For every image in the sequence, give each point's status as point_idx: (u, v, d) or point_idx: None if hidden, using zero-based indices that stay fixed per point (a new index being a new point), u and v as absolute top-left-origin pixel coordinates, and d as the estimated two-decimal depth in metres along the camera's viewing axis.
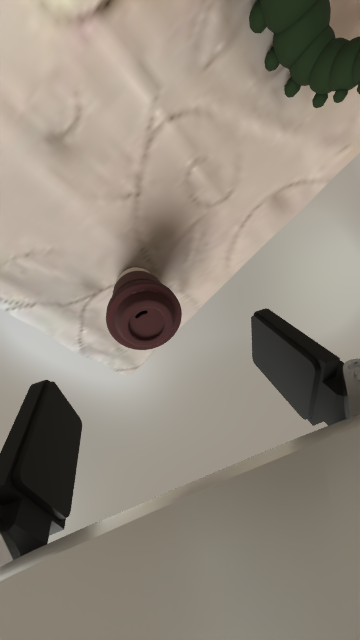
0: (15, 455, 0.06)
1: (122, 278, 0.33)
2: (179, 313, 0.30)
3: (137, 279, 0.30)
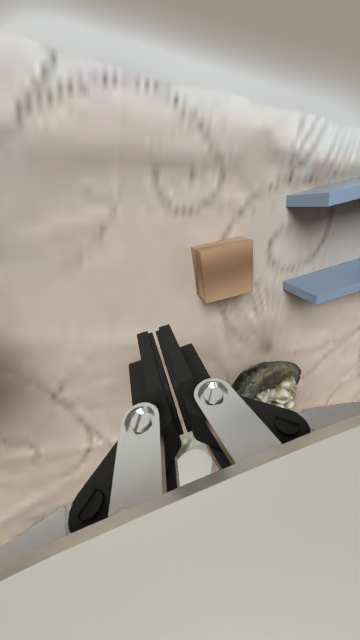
0: (158, 374, 0.08)
1: None
2: None
3: None
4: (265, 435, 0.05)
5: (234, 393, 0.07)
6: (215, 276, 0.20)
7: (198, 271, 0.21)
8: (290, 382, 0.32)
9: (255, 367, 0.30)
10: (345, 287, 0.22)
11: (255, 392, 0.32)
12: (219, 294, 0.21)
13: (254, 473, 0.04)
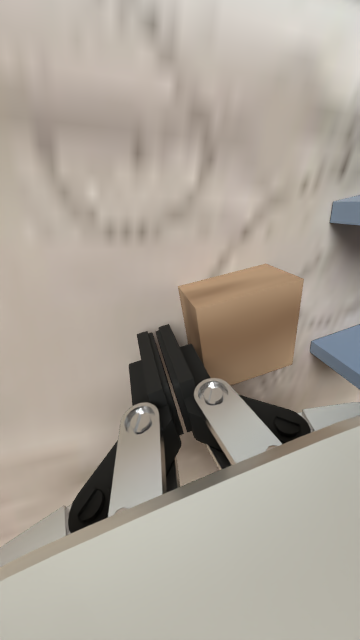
0: (158, 373, 0.08)
1: None
2: None
3: None
4: (265, 435, 0.05)
5: (234, 393, 0.07)
6: (226, 349, 0.10)
7: (192, 334, 0.11)
8: None
9: None
10: None
11: None
12: (232, 376, 0.11)
13: (254, 473, 0.04)
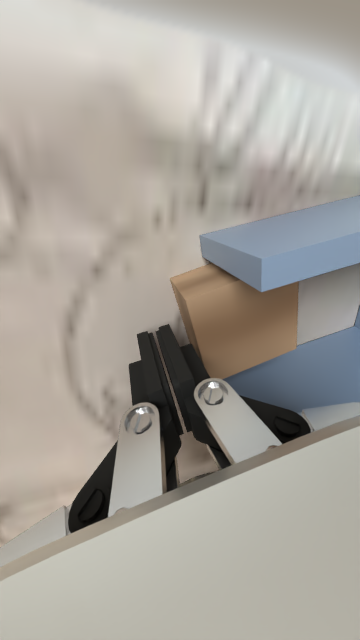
0: (158, 374, 0.08)
1: None
2: None
3: None
4: (265, 435, 0.05)
5: (234, 393, 0.07)
6: (223, 339, 0.10)
7: (188, 326, 0.11)
8: None
9: None
10: None
11: None
12: (233, 365, 0.11)
13: (254, 473, 0.04)
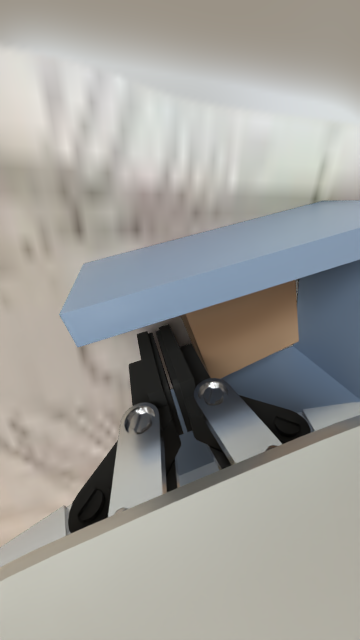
0: (158, 374, 0.08)
1: None
2: None
3: None
4: (265, 435, 0.05)
5: (234, 393, 0.07)
6: (222, 336, 0.10)
7: (187, 325, 0.11)
8: None
9: None
10: None
11: None
12: (235, 362, 0.11)
13: (254, 473, 0.04)
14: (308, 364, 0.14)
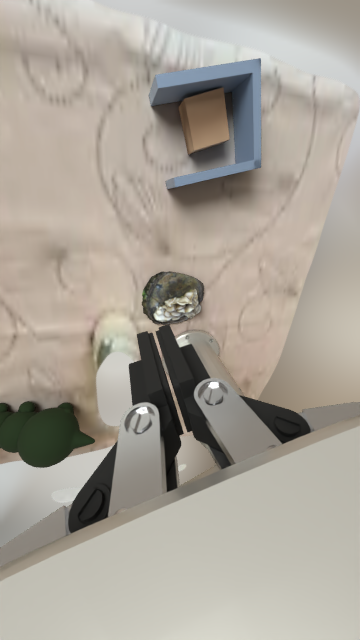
0: (158, 374, 0.08)
1: None
2: None
3: None
4: (265, 435, 0.05)
5: (234, 393, 0.07)
6: (198, 123, 0.27)
7: (185, 125, 0.28)
8: (192, 292, 0.39)
9: (162, 272, 0.37)
10: (198, 172, 0.27)
11: (163, 298, 0.39)
12: (203, 141, 0.28)
13: (254, 473, 0.04)
14: None
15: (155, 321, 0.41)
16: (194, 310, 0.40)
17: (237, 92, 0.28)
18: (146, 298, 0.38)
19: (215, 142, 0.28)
